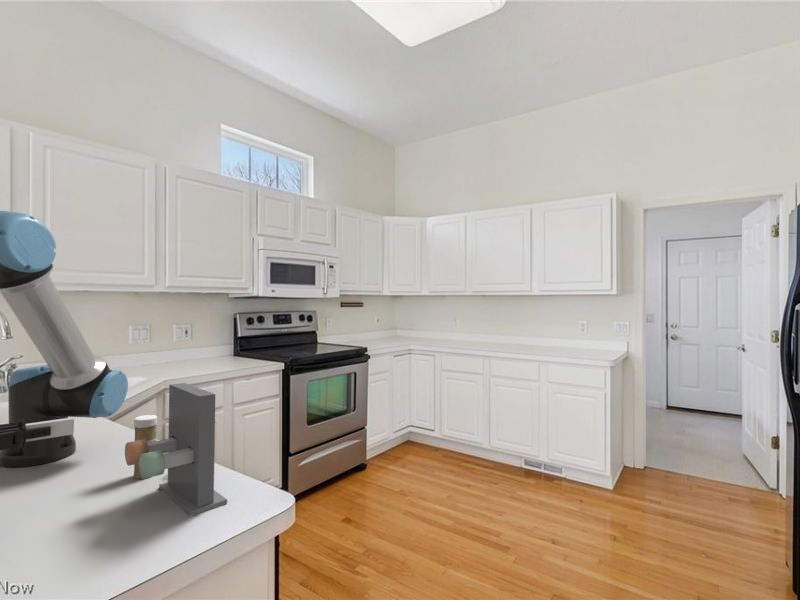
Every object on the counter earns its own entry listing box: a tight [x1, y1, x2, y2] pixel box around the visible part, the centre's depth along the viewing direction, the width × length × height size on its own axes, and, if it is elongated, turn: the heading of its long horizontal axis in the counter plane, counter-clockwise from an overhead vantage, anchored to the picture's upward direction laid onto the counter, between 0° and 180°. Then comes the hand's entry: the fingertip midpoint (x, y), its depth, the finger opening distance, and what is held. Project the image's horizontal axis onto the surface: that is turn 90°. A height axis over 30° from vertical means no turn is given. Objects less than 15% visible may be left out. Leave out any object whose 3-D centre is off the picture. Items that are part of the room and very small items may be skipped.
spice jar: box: [133, 414, 158, 479], centre depth 98 cm, size 5×5×14 cm
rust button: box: [124, 437, 177, 466], centre depth 88 cm, size 4×12×4 cm, turn 137°
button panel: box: [158, 382, 228, 516], centre depth 89 cm, size 17×7×22 cm, turn 47°
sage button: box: [139, 447, 195, 480], centre depth 82 cm, size 4×12×4 cm, turn 137°
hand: (72, 425), depth 77 cm, fingers closed
